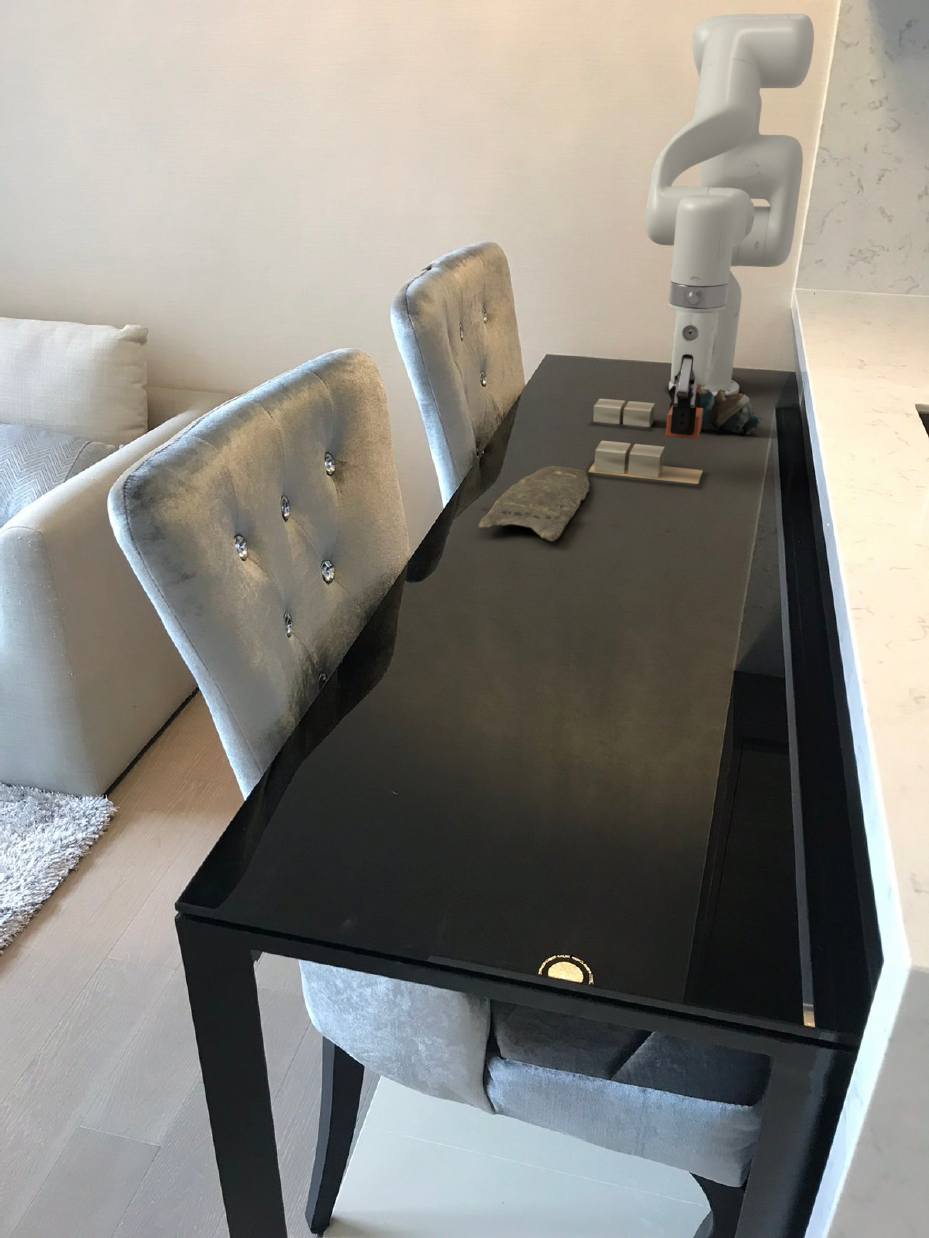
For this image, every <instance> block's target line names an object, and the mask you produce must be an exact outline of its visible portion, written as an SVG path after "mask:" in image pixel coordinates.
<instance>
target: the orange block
mask: <svg viewBox="0 0 929 1238" xmlns="http://www.w3.org/2000/svg"><path fill="white" fill-rule="evenodd" d="M672 409H673V406H672V407H671V409H670V408H669V410H670V411H669V410H668V413H667V416H666V417H667V418H666V430H665V437H669V438H670V437H671V438H680V439H690V440H692V439H693V440H698V438H699V435H700V433H701V431H702V427H701V425H702V416H703V408H696V418H695V427H694V433H693V435H682V434H672V433H671V432H670V429H671V419H672Z"/></svg>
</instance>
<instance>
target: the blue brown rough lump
mask: <svg viewBox="0 0 929 1238" xmlns="http://www.w3.org/2000/svg"><path fill="white" fill-rule="evenodd" d="M675 391H676V386H674V385H673V386H672V388H671V389H670V390H669V389H668V394H669V398H670V404H669V410H668V412H669V411H670V409H671V407H672V406H673V404H674V399H675ZM725 392H726V391H725V390H724V391H723V390H720V391H718V392H717V394H716V396H714V395H713V393H712V392H710V389H708V390H706V389H705V388H703V389H701V393H700V395H696V396H701V404H700V408H703V416H702V425H701V429H704V430H707V429H708V428H710V425H711V426H713V428H714V429H718V430H719V431H721V432H723V433H729V434H737V433H738V432H740V430H742V433H743V435H744V436H745V435H747V436H749V434H751V432H753V431H755V430H757V428H758V425H760V424H761V422H762V421H761V420H762V419H761V417H757V415H755V412H756V411H755V410H756V409H755V408H754V407H753V404H752V403H751V401H750V400H751V399H750V397H748V395H746V394H745V393H744V394H743V393H738V394H731V395H726V394H725Z"/></svg>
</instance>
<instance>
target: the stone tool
mask: <svg viewBox="0 0 929 1238" xmlns="http://www.w3.org/2000/svg"><path fill="white" fill-rule="evenodd" d="M589 487H590V482H589V475H588V474H587V472H586V471H585V470H583V469H582V470H581V469H576V468H573V467H566V466H559V465H550V466H546V467H542V468H540V469H538V470H536V471H535V472H533V473H532V474H530V475H525V477H523V478H520V479H519V480H518V482H517V483H514V484H512V485H511V486H510V487H509V489H506V490H505V491H504V493H502V494H501V495H500V497H498V498H497V499H496V501H495V502H494V504H493V505H492V507H491V508H490V510H489V511H488V513H486V514H485V515H484V516H483V517H482V518H481V519H480V521H479V523H478V529H480V530H482V531H487V530H490V529H492V528H496V527H505V526H519V527H523V528H529V529H531V530H532V531H534V532H535V533H536V534H537V535H538V536H539V537H540V538H541V539H543V540H545V541H548V542H555V541H556V540H557V539H559V538H560V536H561V535H562V534H563V531H564V530H565V528H566V526H567V525H568V524H569V521H570V520H571V519H572V518H573V517H575V513H576V512H577V510H578V509H580V505H581V502H582V501H584V500H585V499H586V497H587V494H588V493H589V492H590V488H589Z"/></svg>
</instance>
